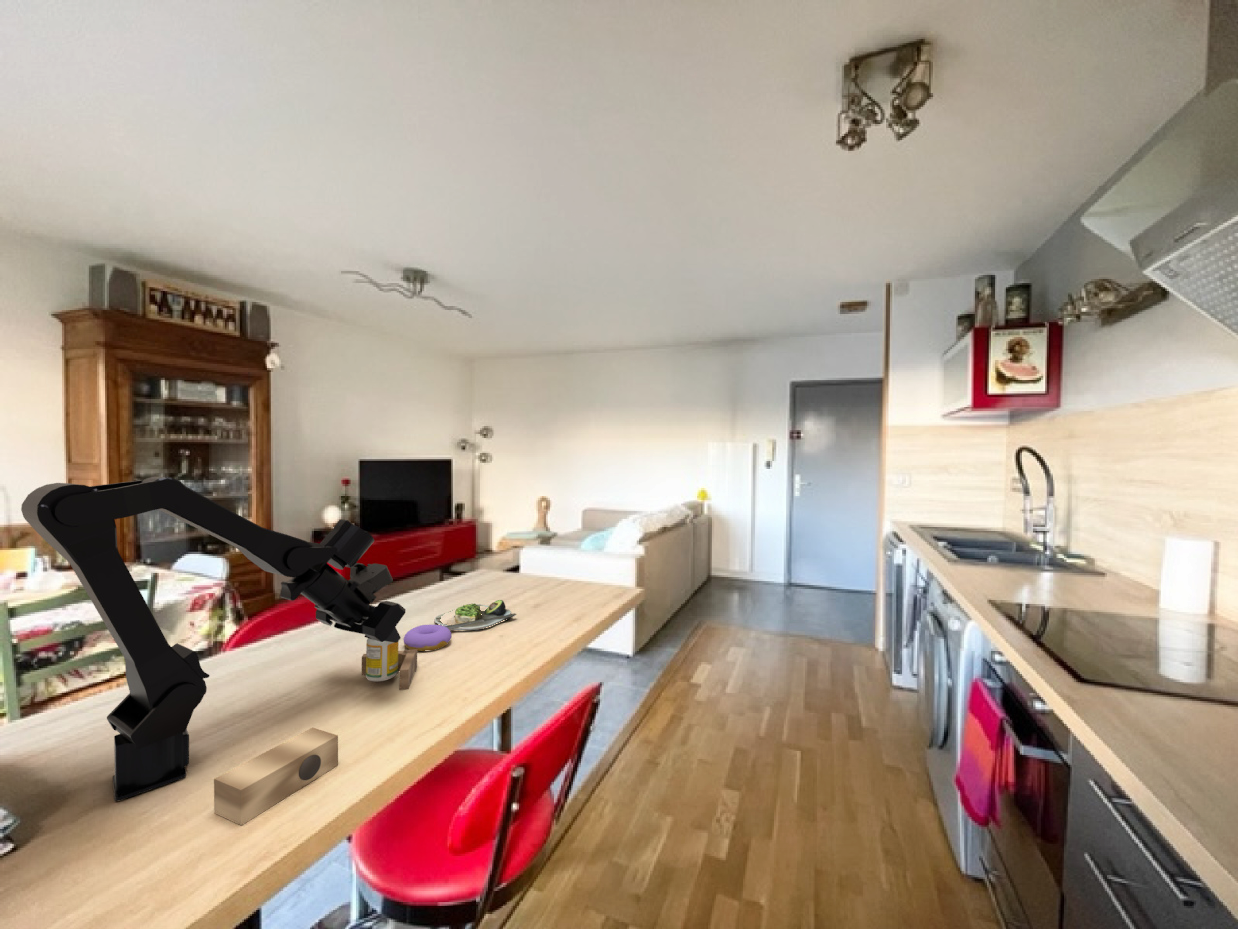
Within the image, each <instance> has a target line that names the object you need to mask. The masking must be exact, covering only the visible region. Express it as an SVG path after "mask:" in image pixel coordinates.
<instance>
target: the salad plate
mask: <svg viewBox="0 0 1238 929" xmlns="http://www.w3.org/2000/svg"><path fill="white" fill-rule="evenodd" d="M480 606H485V607H488V608H487V609H486V610H485V611H481V610H480ZM506 607H507V606H506V604H505V602H504V600H503V599H497V600H495V601H494V602H492V603H490V605H488V604H487V605H486V604H478V603H477V604H476V603H471V604H470V603H468V604H463V605H461V606H458V607H457V608H455V609H456V610H455V609H452V610H450V611H448V612H443V613H441V614H439V615H436V616H435V618H434V620H433V621H434V624H435V623H437V624H440V625H443V626H445V627H447V628H448V629H449V630H450V631H453V630H476V631H479V630H478V629H483V628H486V627H489V626H492V625H494V624H496V623H499V622H501V621H503V620H506V619H508V620H510V619H511V618H513V617H515V616H517V613H512V611H511V610H510V609H507V608H506ZM453 610H455V617H454V621H455V623H454V624H451V625H447V624H448V623H447V624H443V623H442V622H441V621H440V619H441V616H443V615H444V614H445V613H449V612H451V611H453ZM481 614H482V615H481ZM437 624H436V625H437ZM492 627H493V626H492ZM483 630H484V629H483Z"/></svg>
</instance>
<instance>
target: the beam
mask: <svg viewBox="0 0 1238 929" xmlns="http://www.w3.org/2000/svg"><path fill="white" fill-rule="evenodd" d="M337 766H339V735H338V734H335V733H331V732H328V731H325V730H322V729H319V728H315V727H310V728H309V729H307V730H305V731H303V732H300V733H299V734H297V735H295V736H294V737H293V736H292V737H291V738H290V739H288V740H285V741H284V742H282V743H280V744H278V745H276V746H274V747H272V748H270V749H269V750H266V751H265V752H262V753H261V754H259V755H257V756H255V757H253V758H251V759H249V760H248V761H245V762H244V763H241V764H240V765H237V766H236V767H234V768H232V769H230V770H228V771H227V772H225V773H222V774H221V775H218V776H217V777H215V778H214V779H213V798H214V799H213V812H214V814H216V815H218V816H220V817H222V818H225V819H227V820H229V821H230V822H233V823H235V824H237V825H239V826H243V825H245V824H246V823H248V822H249V821H250V820H252V819H254V818H256V817H257V816H259V815H261V814H262V813H264V812H265V811H267V810H269V809H270V808H272V807H273V806H275V805H276V804H278V803H279V802H281V801H283V800H285V799H286V798H288V797H289V796H291V795H292V794H294V793H296V792H297V791H299V790H301V789H302V788H304V787H305V786H307V785H308V784H310V783H312V782H313V781H314V780H317V779H319V778H320V777H321V776H323V775H325V774H326V773H328V772H329V771H331V770H333V769H334V768H336V767H337Z"/></svg>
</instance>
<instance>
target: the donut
mask: <svg viewBox="0 0 1238 929" xmlns="http://www.w3.org/2000/svg"><path fill="white" fill-rule="evenodd" d="M451 639H452V632H451V630H449V629H448V628H447V627H445V626H442V625H437V624H422V625H417V626H415V627H413V628H411V629H410V630H408V631H407V632H406V633H405V634H404V637H403V639H402V640H403V644H404V646H405V647H406V649H407V650H414V649H417V652H418V651H425V650H433V651H436V650H435V649H437V650H439V649H438V648H440V649H442V648H444V647H446V646H447V645H448V644H450V641H451ZM441 647H442V648H441ZM425 652H426V651H425Z"/></svg>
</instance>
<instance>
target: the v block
mask: <svg viewBox="0 0 1238 929" xmlns="http://www.w3.org/2000/svg"><path fill="white" fill-rule="evenodd" d="M417 668H418V651H417V649H414V650H410V649H405V650H398V671H400V672H399V690H400V691H403V690H409V688H410V686H411V684H412V680H413V677H414V674H415V673H416V671H417ZM361 676H366V653H363V654H362V656H361Z"/></svg>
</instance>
